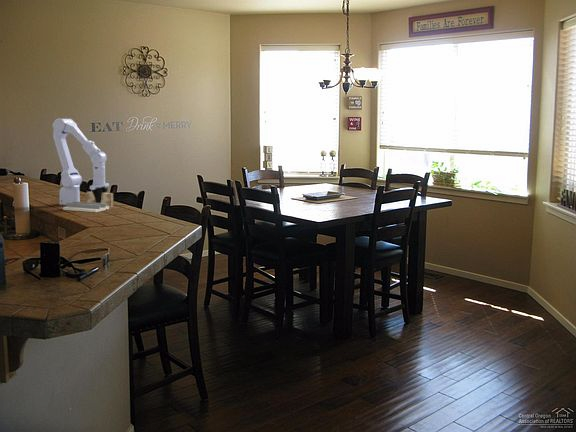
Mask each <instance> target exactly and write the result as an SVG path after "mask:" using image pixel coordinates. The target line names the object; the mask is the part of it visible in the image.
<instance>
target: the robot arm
mask: <svg viewBox="0 0 576 432" xmlns="http://www.w3.org/2000/svg"><path fill="white" fill-rule="evenodd" d="M52 129H53V132H52V137H53V141H54V146H55V148H56V151H57V154H58V158H59V161H60V165H61V167H62V171H61V173H60V177H61V181H60V182H61V184H62V187H61V188H60V189H59V203H58V205H61V206H63V205H64V206H67V205H66V203H73V201H76V202H81V201H80V200H81V198H80V197H81V195H80V186H81V184H82V183H83V178H82V176H81V175H80V173H79V170H77V168H75V166H74V163H73V160H72V156H71V152H70V149H69V147H68V144H67V143H68V142H67V139H66V138H67V136H68V135H69V134H71V135H73V136H74V137H75V139H77V140H78V142H79V143H80V144H81V145H82V146H81V147H82V149H83V151H85V153H86V154H87V155H88V156H89V158H90V162H91V164H92V169H93V170H92V171H93V173H92V174H93V178H92V179H93V184H91V185H89V190H91V191H90V192H93V194H94V197H95V200H96V203H100V202H101V195H102V193H108V191H109V190H108V189H109V187H110V183H109V182H106V162H107V160H108V157H107V154H106V152H104V151H101V149H100V148H98V147H97V145H96V142H94V141H92V140H88V138H87V136H85V134H84V133H83V132H82V131H81V130H80V128H79V127H78V124H77V122H75V121H74V120H73V119H72V118H59V117H58V118H56V119H55V120H54V121H53V123H52Z"/></svg>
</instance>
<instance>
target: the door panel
mask: <svg viewBox="0 0 576 432" xmlns="http://www.w3.org/2000/svg"><path fill="white" fill-rule="evenodd" d="M85 198H86V201H85V202H90V203H96V200H95V197H94V194H93V192H92V191H86V197H85ZM100 203H104V204H106V206H109V208H113V207H114V193H113V192H106V193H102V195H101V202H100Z"/></svg>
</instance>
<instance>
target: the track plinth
mask: <svg viewBox="0 0 576 432" xmlns="http://www.w3.org/2000/svg"><path fill="white" fill-rule="evenodd" d="M106 209H107V210H109V209H110V207H109V206H106V204H104V203H90V202H87V201H80V202H76V201H73V203H66V205H65V206H64V207H62V210H63V211H71V212H72V211H74V212H75V211H76V212H86V213H99V212H103V211H106Z"/></svg>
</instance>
